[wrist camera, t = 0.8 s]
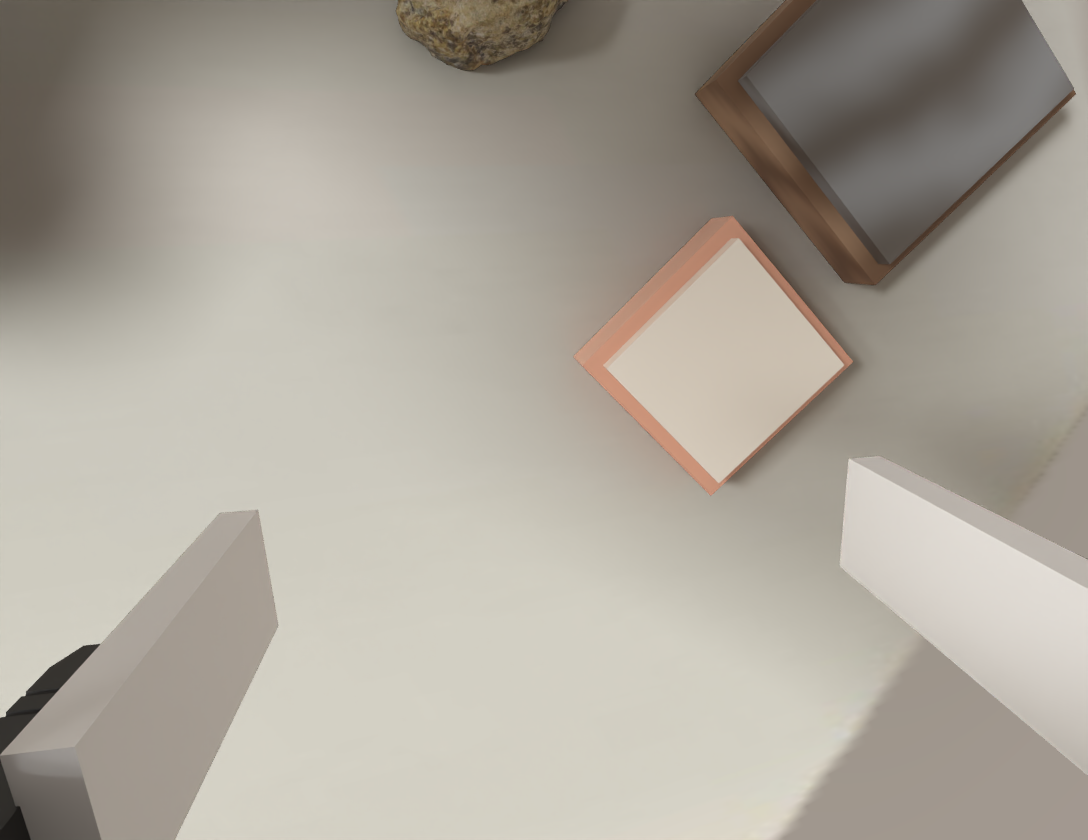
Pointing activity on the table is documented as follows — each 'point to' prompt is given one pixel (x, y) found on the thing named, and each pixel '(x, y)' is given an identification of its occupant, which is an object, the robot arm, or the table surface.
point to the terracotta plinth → (714, 353)
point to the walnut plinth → (884, 114)
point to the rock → (476, 27)
